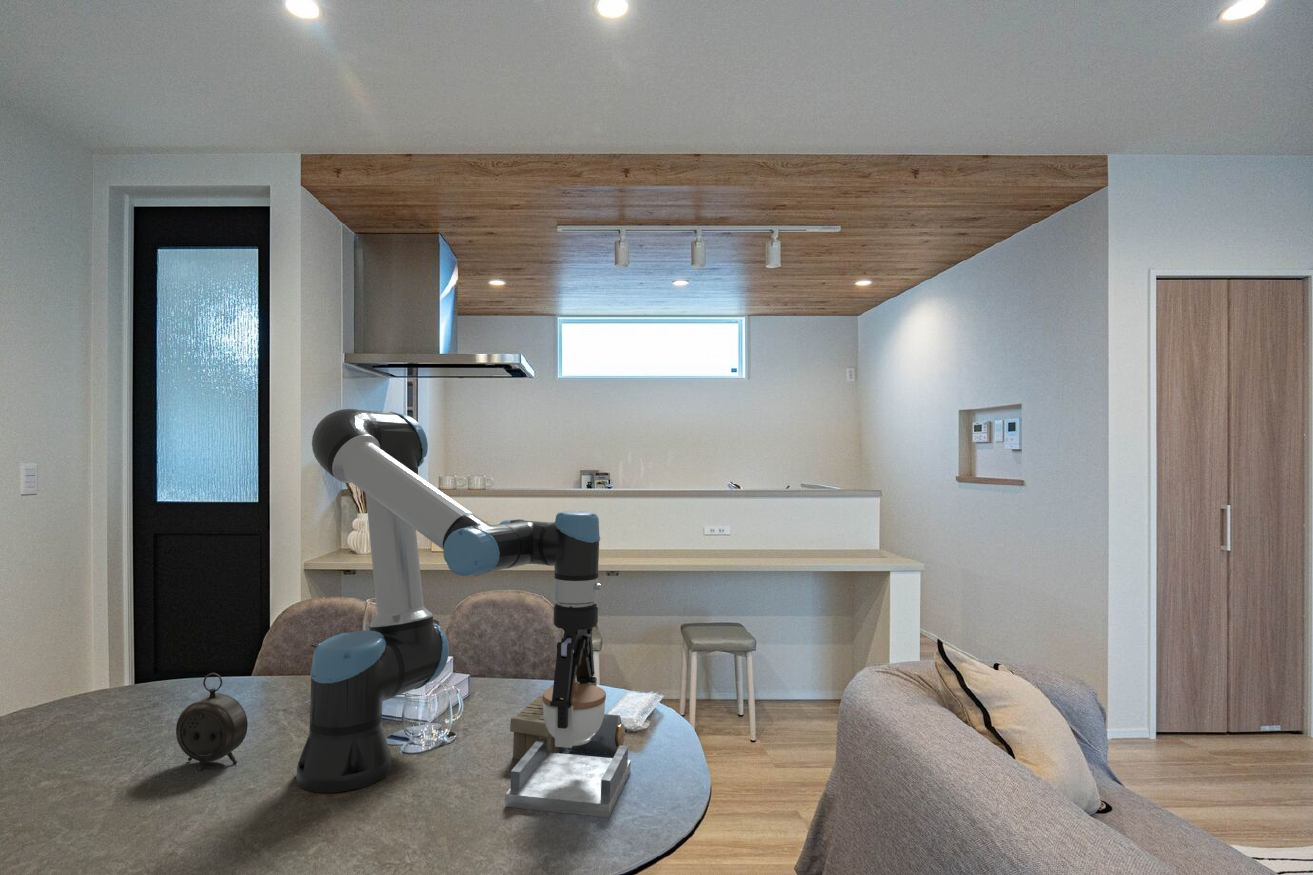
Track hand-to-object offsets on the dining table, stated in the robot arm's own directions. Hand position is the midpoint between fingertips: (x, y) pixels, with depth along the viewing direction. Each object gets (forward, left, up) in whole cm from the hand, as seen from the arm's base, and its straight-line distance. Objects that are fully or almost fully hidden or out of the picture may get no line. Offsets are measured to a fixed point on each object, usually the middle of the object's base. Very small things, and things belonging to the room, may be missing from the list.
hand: (573, 733), depth 122 cm
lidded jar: (0, 0, -1) cm, 1 cm away
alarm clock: (-65, -5, -9) cm, 66 cm away
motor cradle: (0, +5, -9) cm, 11 cm away
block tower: (-10, +23, -10) cm, 26 cm away
